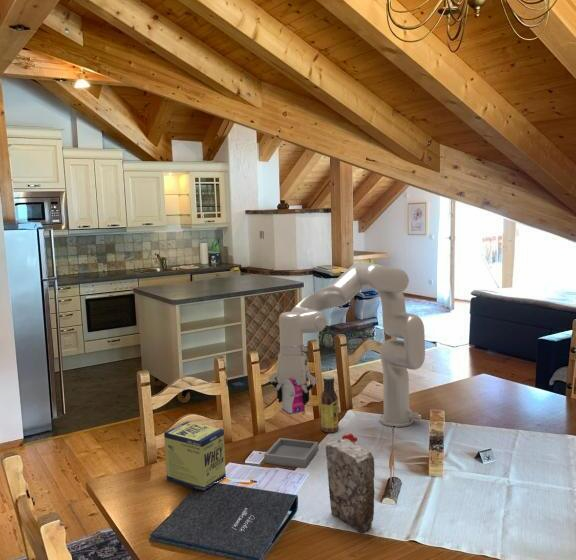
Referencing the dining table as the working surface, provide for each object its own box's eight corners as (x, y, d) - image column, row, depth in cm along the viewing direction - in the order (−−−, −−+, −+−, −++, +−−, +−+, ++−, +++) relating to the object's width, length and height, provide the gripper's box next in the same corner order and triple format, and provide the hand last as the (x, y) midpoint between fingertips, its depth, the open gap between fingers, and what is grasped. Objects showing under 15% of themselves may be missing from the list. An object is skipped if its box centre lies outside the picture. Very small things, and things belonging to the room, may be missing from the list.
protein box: (204, 492, 161) (202, 441, 159) (165, 480, 169) (162, 431, 168) (227, 477, 170) (224, 428, 168) (189, 466, 178) (186, 420, 176)
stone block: (324, 515, 147) (322, 442, 144) (343, 505, 151) (341, 435, 149) (361, 536, 136) (359, 458, 134) (380, 525, 141) (379, 450, 138)
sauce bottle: (337, 433, 200) (336, 380, 198) (320, 433, 202) (318, 380, 199) (339, 427, 207) (338, 375, 205) (322, 426, 208) (321, 375, 206)
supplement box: (290, 415, 178) (288, 380, 177) (281, 409, 183) (280, 376, 182) (305, 411, 181) (304, 377, 179) (297, 406, 186) (296, 373, 185)
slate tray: (318, 450, 187) (318, 442, 187) (305, 468, 174) (305, 459, 174) (280, 445, 192) (279, 437, 192) (264, 462, 179) (264, 454, 179)
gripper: (320, 348, 180) (321, 400, 182) (271, 346, 186) (272, 396, 188) (313, 354, 173) (315, 408, 175) (262, 351, 179) (264, 403, 181)
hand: (293, 401), depth 182 cm, fingers closed on supplement box, 8 cm apart
